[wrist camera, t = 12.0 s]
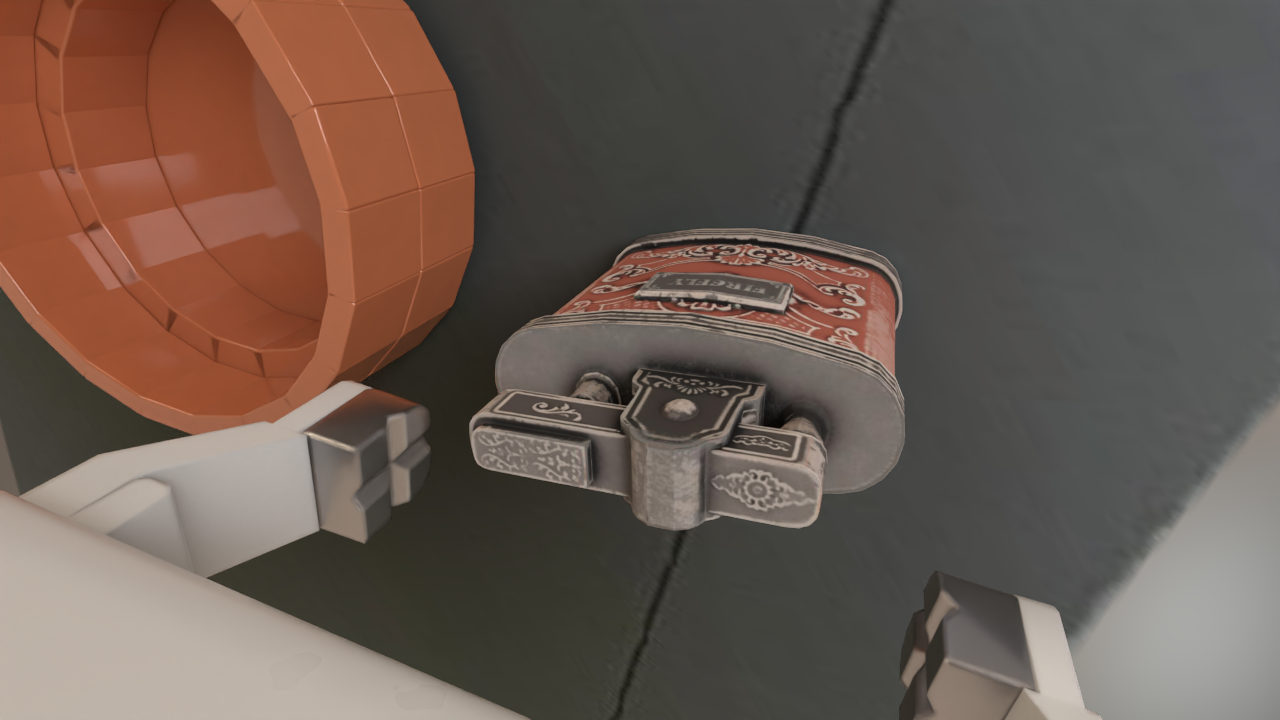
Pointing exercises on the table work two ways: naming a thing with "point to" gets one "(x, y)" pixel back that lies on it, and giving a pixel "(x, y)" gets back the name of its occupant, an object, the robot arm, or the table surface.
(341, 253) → the bowl
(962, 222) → the table surface
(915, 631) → the robot arm
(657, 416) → the lighter
